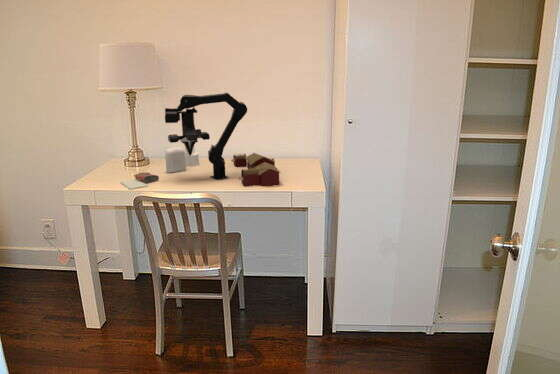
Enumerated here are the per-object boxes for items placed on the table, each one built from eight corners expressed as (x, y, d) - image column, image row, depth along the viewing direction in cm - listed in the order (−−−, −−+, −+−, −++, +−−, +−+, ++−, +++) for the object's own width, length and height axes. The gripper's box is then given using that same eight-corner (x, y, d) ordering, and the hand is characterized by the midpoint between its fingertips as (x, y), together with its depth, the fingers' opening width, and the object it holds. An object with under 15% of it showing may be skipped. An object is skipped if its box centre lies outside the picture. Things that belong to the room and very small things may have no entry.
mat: (148, 186, 218) (148, 185, 218) (130, 189, 213) (129, 188, 213) (137, 179, 229) (137, 178, 229) (120, 182, 224) (119, 181, 224)
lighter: (158, 181, 227) (147, 177, 234) (158, 174, 226) (147, 170, 233) (144, 183, 221) (132, 179, 228) (144, 176, 221) (132, 172, 227)
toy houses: (285, 185, 219) (285, 164, 216) (241, 189, 214) (240, 167, 211) (264, 162, 261) (264, 144, 258) (227, 165, 256) (227, 146, 253)
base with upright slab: (184, 162, 261) (183, 141, 257) (200, 162, 260) (199, 141, 257) (180, 166, 252) (179, 144, 249) (197, 166, 252) (195, 144, 248)
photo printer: (184, 168, 248) (182, 145, 244) (187, 170, 244) (185, 147, 241) (165, 171, 242) (163, 148, 239) (168, 173, 239) (166, 149, 235)
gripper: (171, 126, 211) (174, 160, 215) (212, 123, 218) (213, 156, 222) (166, 122, 220) (169, 155, 225) (205, 120, 227) (207, 151, 232)
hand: (190, 154), depth 226 cm, fingers closed
